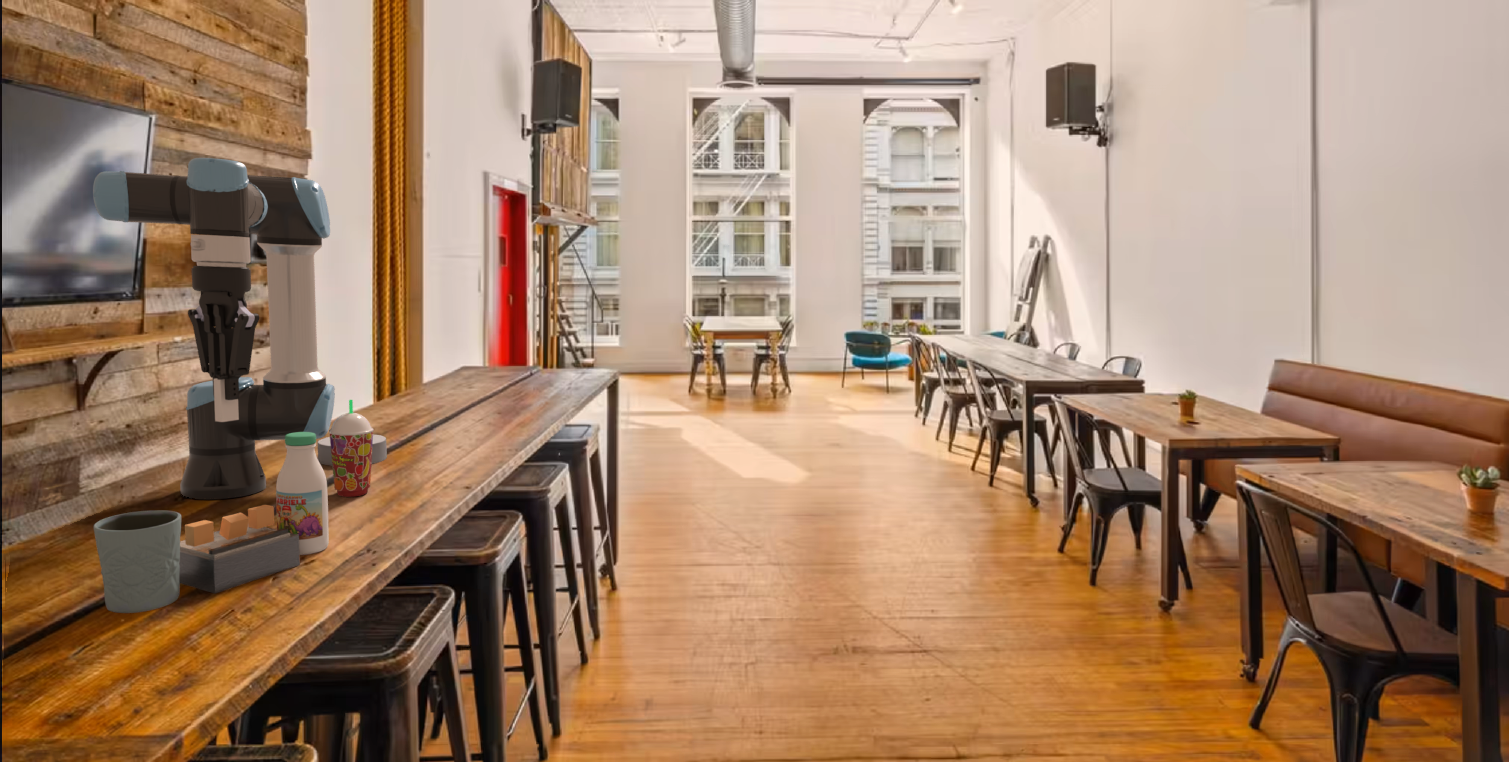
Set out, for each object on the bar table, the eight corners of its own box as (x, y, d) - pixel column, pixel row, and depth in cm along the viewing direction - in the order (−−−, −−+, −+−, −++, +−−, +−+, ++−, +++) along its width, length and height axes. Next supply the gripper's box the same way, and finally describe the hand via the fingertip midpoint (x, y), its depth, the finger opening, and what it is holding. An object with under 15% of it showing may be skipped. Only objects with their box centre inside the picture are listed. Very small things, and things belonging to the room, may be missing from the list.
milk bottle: (290, 541, 149) (287, 428, 146) (336, 542, 149) (333, 430, 147) (269, 556, 141) (265, 437, 138) (317, 557, 142) (314, 439, 139)
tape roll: (303, 462, 204) (302, 441, 204) (350, 450, 219) (350, 431, 218) (355, 469, 200) (355, 448, 199) (400, 456, 214) (400, 437, 214)
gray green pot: (130, 620, 115) (125, 534, 114) (80, 607, 119) (75, 523, 117) (201, 594, 125) (198, 515, 123) (153, 583, 128) (149, 505, 126)
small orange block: (219, 534, 132) (222, 517, 131) (237, 528, 135) (241, 512, 134) (227, 539, 131) (231, 523, 130) (246, 534, 134) (249, 518, 133)
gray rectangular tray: (162, 578, 130) (160, 540, 129) (249, 552, 143) (247, 517, 142) (215, 593, 125) (213, 554, 124) (299, 564, 138) (298, 529, 137)
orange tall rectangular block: (185, 544, 127) (184, 525, 127) (205, 538, 130) (204, 520, 130) (194, 546, 127) (193, 527, 126) (214, 541, 129) (213, 522, 129)
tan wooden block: (248, 527, 137) (247, 508, 136) (265, 522, 139) (265, 504, 139) (257, 529, 136) (256, 510, 135) (274, 524, 139) (273, 506, 138)
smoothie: (321, 495, 177) (319, 400, 174) (353, 486, 185) (352, 395, 182) (351, 501, 174) (349, 404, 171) (383, 491, 182) (381, 399, 179)
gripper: (167, 262, 127) (174, 419, 130) (226, 266, 121) (232, 428, 124) (216, 264, 133) (222, 412, 136) (274, 267, 128) (278, 421, 131)
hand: (227, 420), depth 130 cm, fingers closed
